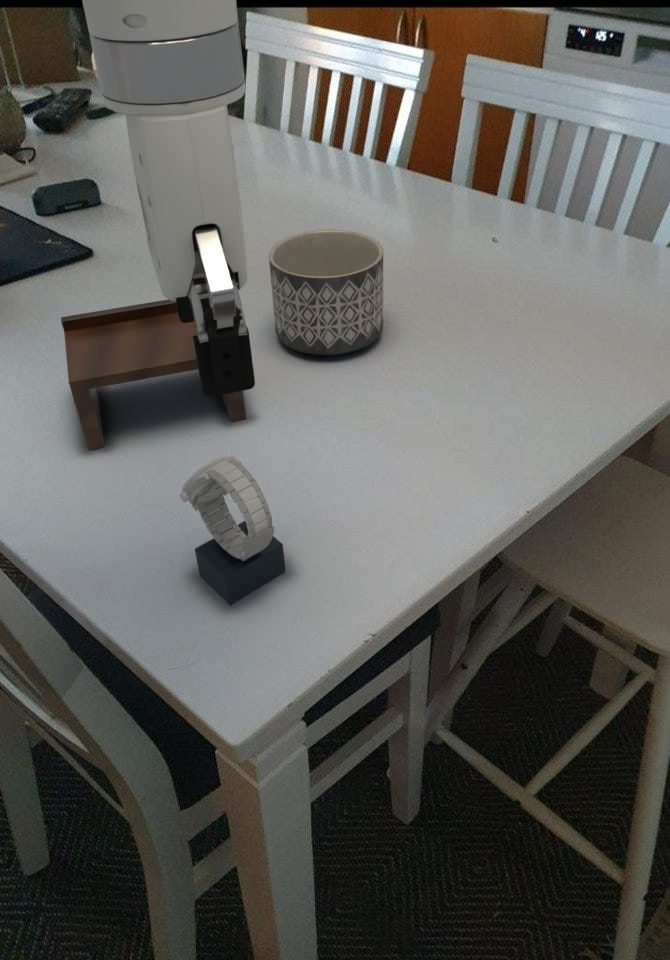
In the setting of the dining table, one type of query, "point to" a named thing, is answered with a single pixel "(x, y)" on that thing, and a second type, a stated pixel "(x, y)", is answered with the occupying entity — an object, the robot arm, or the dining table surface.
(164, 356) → the shelf
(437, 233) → the dining table surface
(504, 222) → the dining table surface
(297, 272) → the planter
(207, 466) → the watch
